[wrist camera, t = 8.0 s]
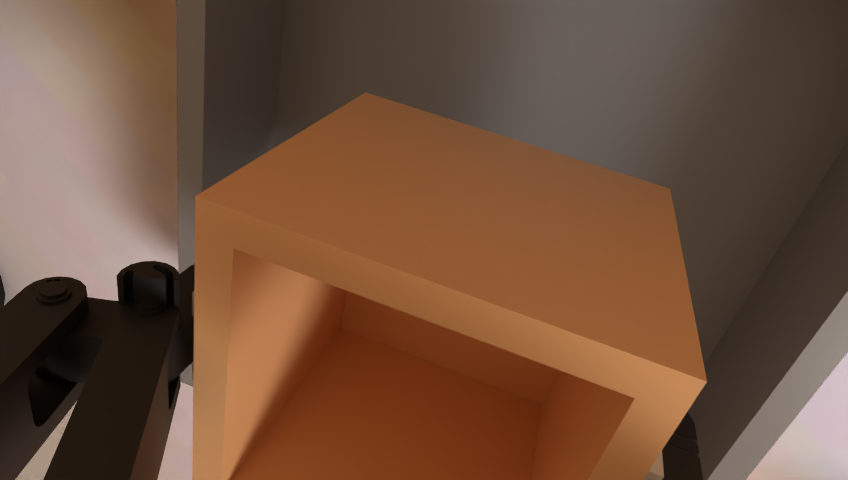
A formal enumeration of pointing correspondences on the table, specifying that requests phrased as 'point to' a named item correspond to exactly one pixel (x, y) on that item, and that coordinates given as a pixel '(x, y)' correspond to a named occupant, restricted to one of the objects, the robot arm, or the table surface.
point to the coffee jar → (1, 294)
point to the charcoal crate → (591, 144)
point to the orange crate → (435, 310)
